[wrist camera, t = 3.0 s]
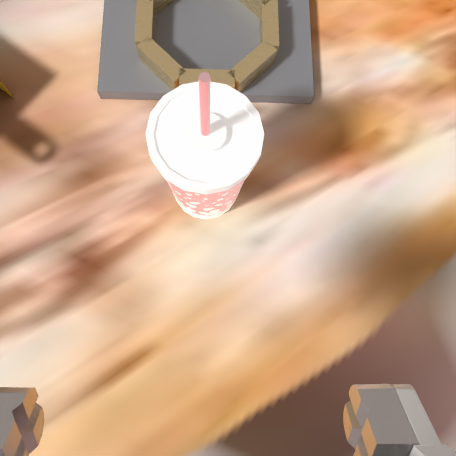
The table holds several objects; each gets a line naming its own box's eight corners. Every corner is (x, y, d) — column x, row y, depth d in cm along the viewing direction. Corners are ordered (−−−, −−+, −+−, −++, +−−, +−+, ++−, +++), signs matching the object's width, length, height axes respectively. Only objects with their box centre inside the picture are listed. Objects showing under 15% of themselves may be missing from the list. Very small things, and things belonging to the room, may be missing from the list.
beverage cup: (230, 242, 29) (250, 171, 16) (150, 211, 30) (101, 115, 16) (259, 166, 31) (301, 41, 17) (182, 137, 31) (163, -9, 17)
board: (100, 98, 31) (97, 91, 30) (109, -14, 34) (106, -24, 33) (310, 103, 32) (314, 96, 31) (305, -7, 34) (308, -16, 33)
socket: (136, 94, 30) (132, 82, 29) (142, -25, 33) (139, -42, 31) (277, 98, 31) (280, 86, 29) (273, -20, 33) (276, -37, 32)
